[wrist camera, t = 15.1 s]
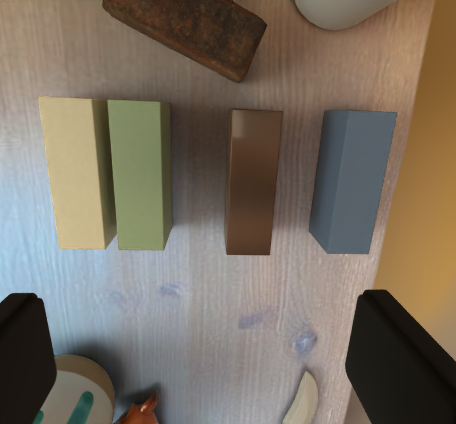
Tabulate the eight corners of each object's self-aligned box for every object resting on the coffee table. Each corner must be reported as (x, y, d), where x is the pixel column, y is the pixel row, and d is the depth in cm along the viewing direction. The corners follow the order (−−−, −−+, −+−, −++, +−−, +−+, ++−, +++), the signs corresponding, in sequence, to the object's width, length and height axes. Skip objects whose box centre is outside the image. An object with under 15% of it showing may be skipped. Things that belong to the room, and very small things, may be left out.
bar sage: (127, 101, 25) (107, 99, 20) (170, 103, 25) (160, 101, 21) (134, 226, 29) (118, 250, 24) (172, 227, 29) (164, 250, 24)
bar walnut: (228, 109, 26) (232, 109, 21) (270, 110, 26) (283, 111, 21) (224, 231, 29) (226, 255, 24) (260, 232, 29) (269, 255, 25)
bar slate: (324, 110, 26) (349, 110, 21) (364, 112, 26) (397, 112, 22) (308, 230, 30) (326, 253, 25) (344, 231, 30) (369, 254, 25)
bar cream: (70, 98, 25) (37, 96, 20) (114, 100, 25) (91, 98, 20) (84, 225, 28) (58, 249, 24) (123, 226, 29) (105, 249, 24)
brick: (260, 36, 24) (271, 19, 20) (238, 85, 25) (243, 80, 21) (131, -37, 22) (111, -74, 18) (113, 19, 23) (89, -3, 19)
